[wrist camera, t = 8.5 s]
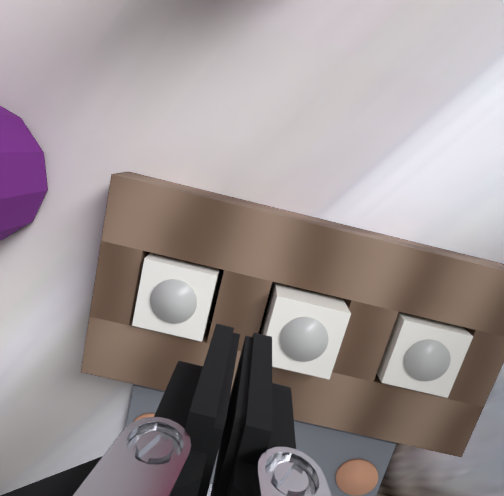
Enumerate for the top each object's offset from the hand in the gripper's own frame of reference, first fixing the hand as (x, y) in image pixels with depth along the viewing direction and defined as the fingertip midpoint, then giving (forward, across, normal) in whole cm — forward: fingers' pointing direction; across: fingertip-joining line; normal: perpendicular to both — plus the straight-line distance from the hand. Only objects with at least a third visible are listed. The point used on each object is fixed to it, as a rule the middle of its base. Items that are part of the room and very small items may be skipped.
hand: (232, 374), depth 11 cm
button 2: (+15, -12, +4) cm, 20 cm away
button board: (+15, -4, +4) cm, 16 cm away
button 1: (+15, +4, +4) cm, 16 cm away
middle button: (+14, -4, +4) cm, 15 cm away
